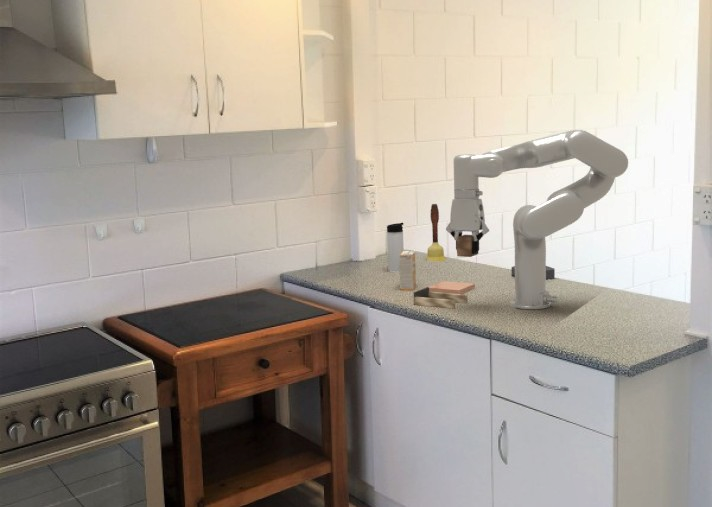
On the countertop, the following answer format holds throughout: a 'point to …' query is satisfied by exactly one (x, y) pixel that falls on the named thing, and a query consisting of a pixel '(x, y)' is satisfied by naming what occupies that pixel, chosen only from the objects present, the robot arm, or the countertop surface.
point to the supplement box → (407, 270)
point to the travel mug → (394, 245)
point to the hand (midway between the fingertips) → (467, 252)
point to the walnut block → (465, 246)
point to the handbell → (435, 238)
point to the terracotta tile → (452, 287)
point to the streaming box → (549, 272)
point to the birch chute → (438, 298)
